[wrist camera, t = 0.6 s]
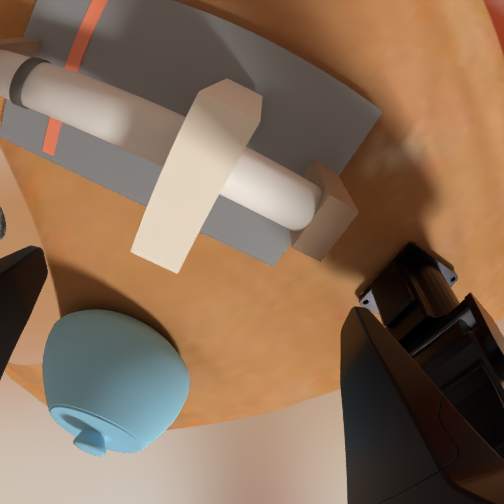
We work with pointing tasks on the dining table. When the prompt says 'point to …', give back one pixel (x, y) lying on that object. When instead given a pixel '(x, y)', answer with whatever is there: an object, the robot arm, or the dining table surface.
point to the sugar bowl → (112, 381)
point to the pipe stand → (185, 114)
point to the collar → (196, 171)
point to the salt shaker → (2, 224)
